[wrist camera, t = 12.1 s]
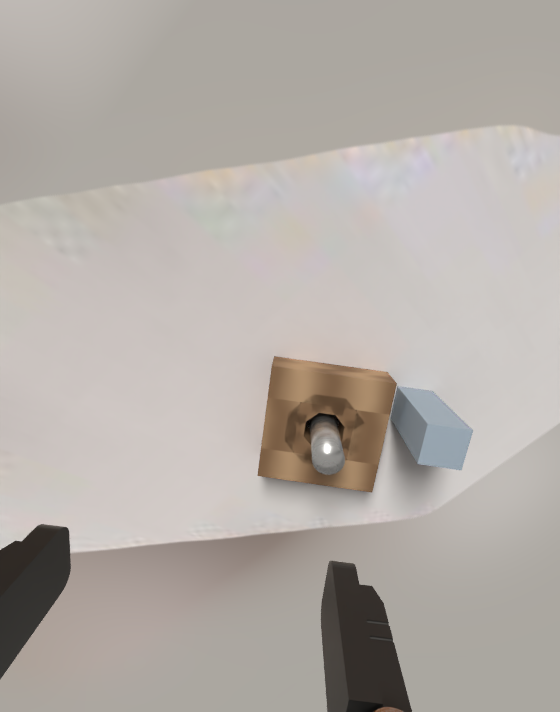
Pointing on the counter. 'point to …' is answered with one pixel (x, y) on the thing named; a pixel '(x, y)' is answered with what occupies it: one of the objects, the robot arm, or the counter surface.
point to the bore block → (329, 396)
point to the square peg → (430, 428)
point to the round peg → (326, 444)
